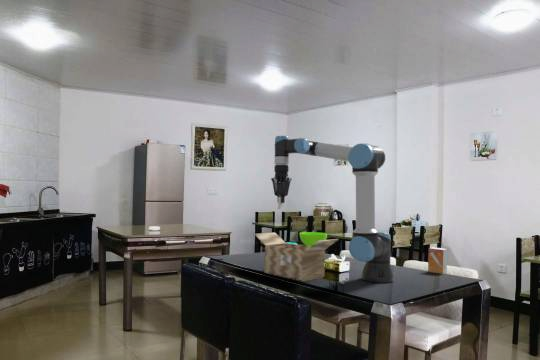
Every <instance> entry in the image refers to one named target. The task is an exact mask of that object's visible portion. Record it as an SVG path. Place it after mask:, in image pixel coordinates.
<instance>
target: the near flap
mask: <svg viewBox="0 0 540 360" xmlns="http://www.w3.org/2000/svg"><path fill="white" fill-rule="evenodd" d="M338 241H339V238H333V239H326V240H320V241H317V242H316V243H314V244H313V245H312V246H310V247H309V248H308V249H306V250H305V251H304V252H309V251H317V250H325V251H326V250H327V249H328V248H329V247H330V246H333V244H335V243H336V242H338Z"/></svg>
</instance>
